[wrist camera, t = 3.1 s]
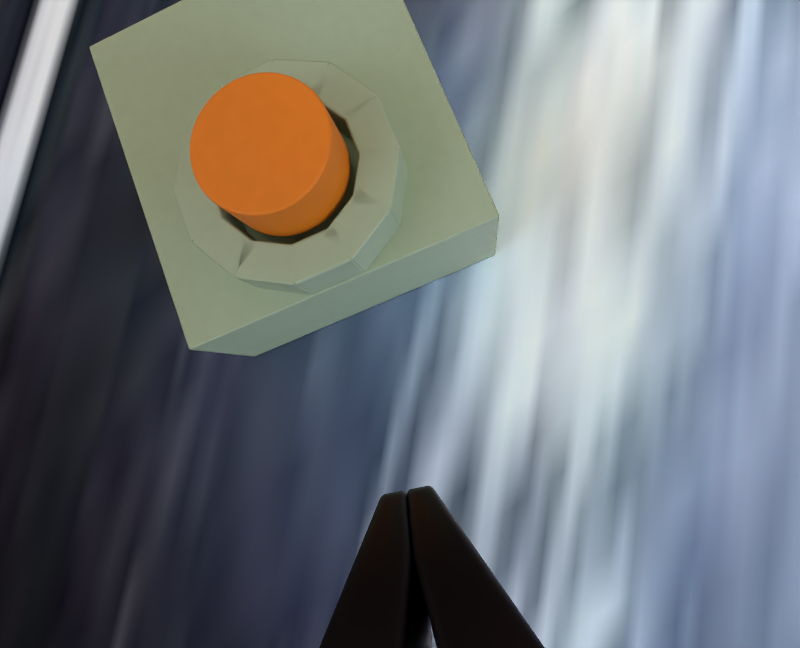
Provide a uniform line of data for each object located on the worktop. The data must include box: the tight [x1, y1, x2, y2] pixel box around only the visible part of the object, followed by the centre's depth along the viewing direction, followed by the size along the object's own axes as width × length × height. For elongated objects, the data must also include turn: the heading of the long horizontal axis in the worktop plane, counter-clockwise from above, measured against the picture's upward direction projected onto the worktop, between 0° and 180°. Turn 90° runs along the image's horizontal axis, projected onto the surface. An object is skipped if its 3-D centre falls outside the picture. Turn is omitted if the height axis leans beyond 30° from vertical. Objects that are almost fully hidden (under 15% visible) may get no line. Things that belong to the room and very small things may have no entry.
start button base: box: [90, 0, 499, 356], centre depth 20 cm, size 12×11×7 cm
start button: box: [190, 72, 350, 236], centre depth 15 cm, size 4×4×2 cm
